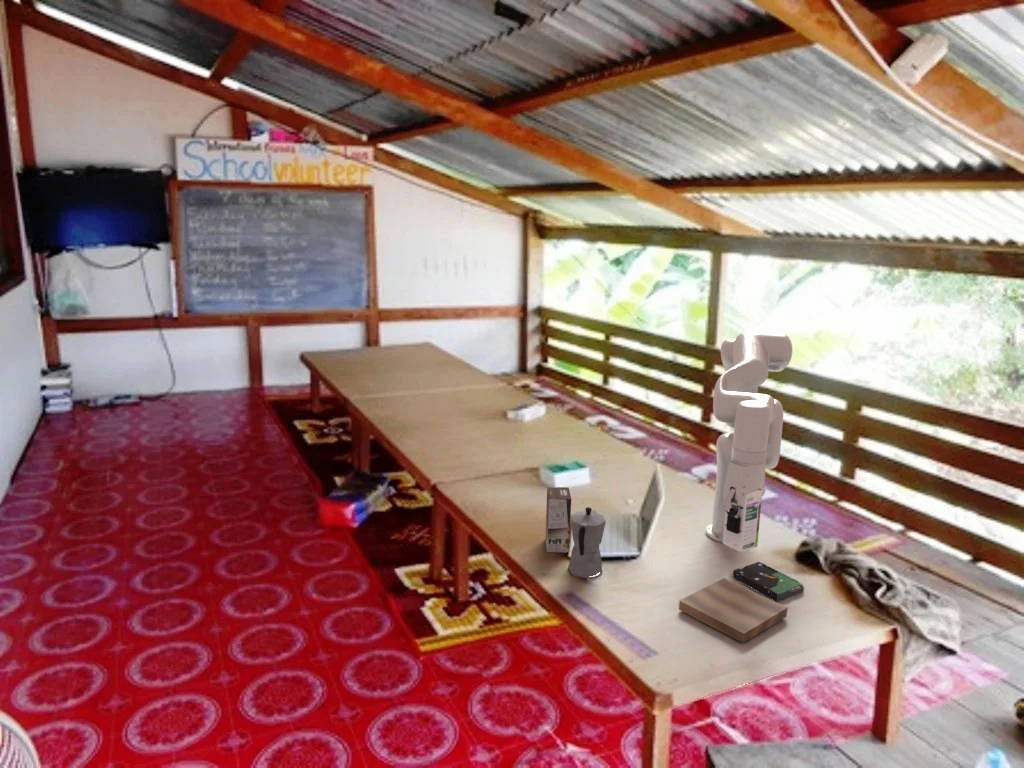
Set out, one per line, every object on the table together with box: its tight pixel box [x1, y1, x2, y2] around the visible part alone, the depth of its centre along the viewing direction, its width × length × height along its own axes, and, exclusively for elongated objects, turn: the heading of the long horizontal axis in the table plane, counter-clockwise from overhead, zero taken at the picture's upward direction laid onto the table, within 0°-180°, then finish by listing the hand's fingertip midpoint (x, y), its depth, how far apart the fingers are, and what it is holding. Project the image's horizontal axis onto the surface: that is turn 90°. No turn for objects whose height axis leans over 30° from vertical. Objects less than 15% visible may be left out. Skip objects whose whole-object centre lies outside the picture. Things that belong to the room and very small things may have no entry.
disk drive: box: [732, 561, 805, 603], centre depth 201 cm, size 10×3×15 cm
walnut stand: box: [678, 577, 789, 644], centre depth 186 cm, size 18×18×3 cm
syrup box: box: [722, 489, 763, 553], centre depth 180 cm, size 6×6×14 cm
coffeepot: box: [567, 506, 606, 579], centre depth 203 cm, size 15×9×18 cm, turn 163°
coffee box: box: [545, 486, 573, 554], centre depth 218 cm, size 9×6×16 cm
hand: (741, 527), depth 180 cm, fingers closed on syrup box, 6 cm apart
